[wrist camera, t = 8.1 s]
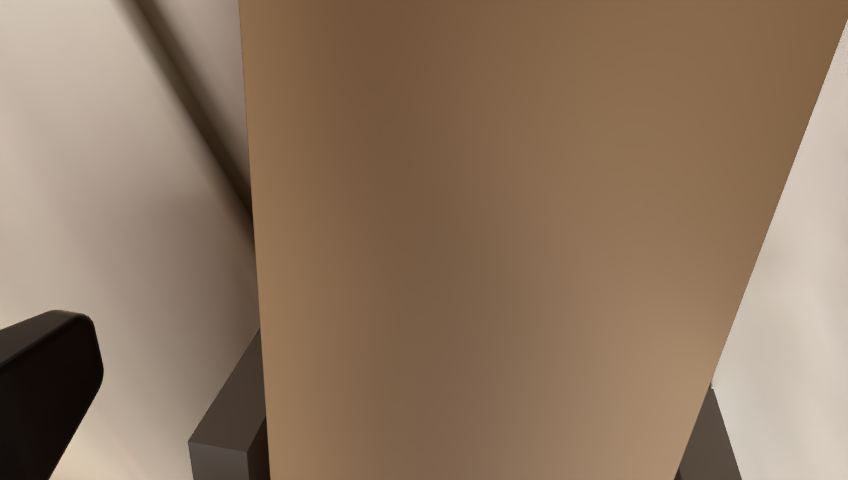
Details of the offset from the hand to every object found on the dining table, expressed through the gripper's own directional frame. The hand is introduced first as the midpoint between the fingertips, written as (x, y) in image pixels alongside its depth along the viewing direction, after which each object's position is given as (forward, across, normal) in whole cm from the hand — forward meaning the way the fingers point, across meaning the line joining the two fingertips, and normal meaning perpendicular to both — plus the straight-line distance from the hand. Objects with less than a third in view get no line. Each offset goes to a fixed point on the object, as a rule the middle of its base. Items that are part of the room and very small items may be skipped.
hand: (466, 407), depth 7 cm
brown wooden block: (+5, 0, 0) cm, 5 cm away
